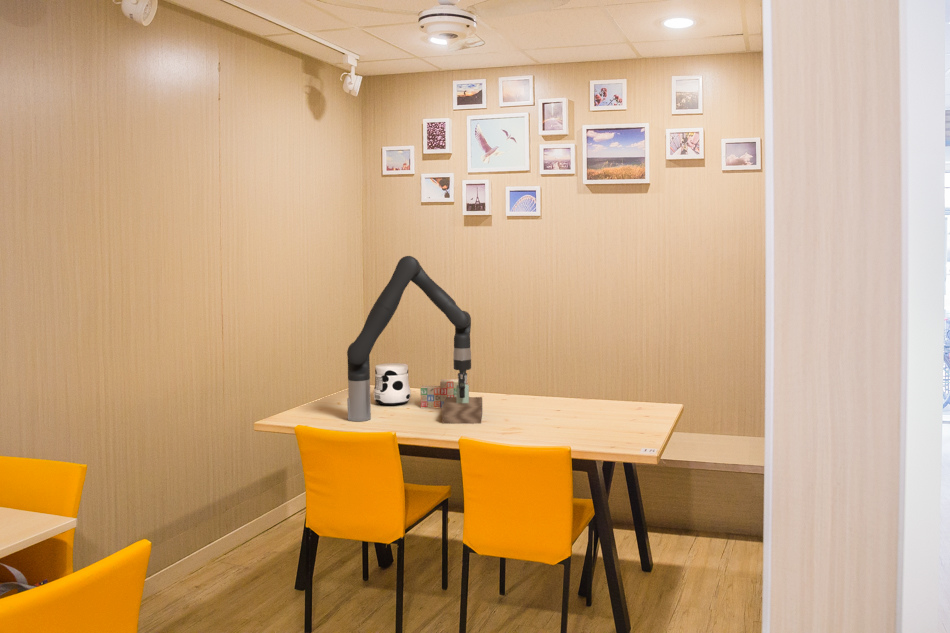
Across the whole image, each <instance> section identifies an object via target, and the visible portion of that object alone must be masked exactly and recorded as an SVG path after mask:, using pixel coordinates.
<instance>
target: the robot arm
mask: <svg viewBox="0 0 950 633" xmlns="http://www.w3.org/2000/svg"><path fill="white" fill-rule="evenodd" d="M410 282H412V283H413V284H415V285H416V286H417V287H418V288H419V289H420V290H421V291H423V294H424V295H426V296H427V297H428V299H429V300H430V301H431V302H432V303H433V305H435V306H436V307H437V309H439V310H440V311H441V312H442V313H443V314H444V315H445V316H446V317H447V319H448V321H450V323H451V324H452V325H453V326H454V336H453V352H452V353H453V357H452V358H453V359H452V360H453V369H454V370H455V371H459V372H457V379H458V384H459V393H460V398H465V385H466V382H467V380H468V372H467V371H468V370H469V371H470V370H471V369H472V349H471V330H472V328H471V327H472V317H471V315H470V313H469V312H468V311H466V310H462V309H461V308H460V307H459V305H458V304H456V301H455V300H454V299H453V297H451V296H450V295H449V293H447V292H446V291H445V290H444V289H443V288H442V287H441V286H440V285H438V284H437V282H435V281H434V280H433V279H432V278H431V277H430V276H429V275H428V273H427V272H426V271H425V270H424V269H423V267H422V265H421V264H420V262H419V261H418V259H416V257H414V256H411V255H405V256H403V257H402V258H400V259H399V261H398V262H397V264H396V266H395V269H394V271H393V273H392V275H391V278H390V279H389V281H388V283H387V284H386V285H385V287H384V288H383V290H382V291H381V293H380V294H379V296H378V297H377V299H376V301H375V302H374V304H373V306H372V307H371V310H370V311H369V313H368V315H367V318H366V320H365V322H364V325H363V327H362V330H361V331H360V332H359V334H358V336H356V339H354V341H353V342H352V343H350V345H348V347H347V350H346V351H347V352H346V354H347V386H348V387H347V388H348V390H347V391H348V397H347V399H346V400H347V402H346V403H347V404H346V405H347V421H351V422H364V421H365V422H366V421H369V420H371V419H372V411H371V410H372V408H371V407H372V406H371V369H370V368H371V367H370V355H371V352H372V350H373V348H374V345H375V344H376V342H377V340H378V338H379V337H380V335H381V334H382V332H383V331H385V329H386V327H387V326H388V324H389V323H390V322H391V320H392V318H393V317H394V314H395V313H396V311H397V310H398V307H399V305H400V302H401V299H402V297H403V294H404V293H405V292H404V291H405V290H406V288H407V287H408V285H409V284H410ZM460 385H463V386H460Z"/></svg>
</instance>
